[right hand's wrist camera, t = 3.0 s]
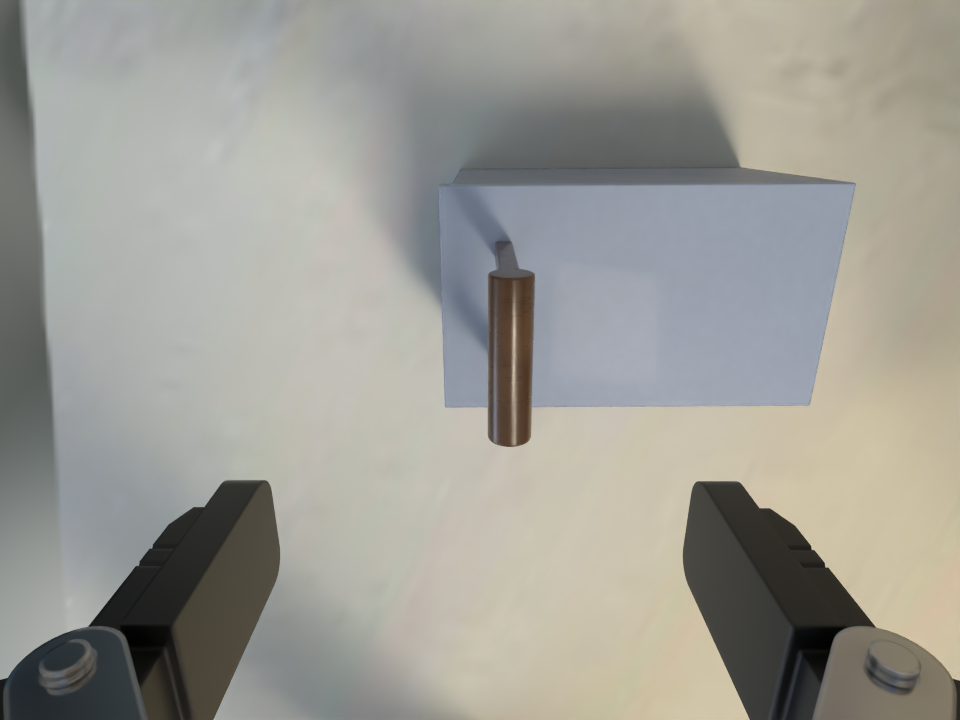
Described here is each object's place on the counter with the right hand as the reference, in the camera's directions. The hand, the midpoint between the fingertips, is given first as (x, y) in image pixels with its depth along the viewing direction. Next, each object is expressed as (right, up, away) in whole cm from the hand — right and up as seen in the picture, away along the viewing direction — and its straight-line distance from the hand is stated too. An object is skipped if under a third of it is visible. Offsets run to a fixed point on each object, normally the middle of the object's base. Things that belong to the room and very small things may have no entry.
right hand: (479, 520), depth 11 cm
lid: (+7, +6, +15) cm, 17 cm away
